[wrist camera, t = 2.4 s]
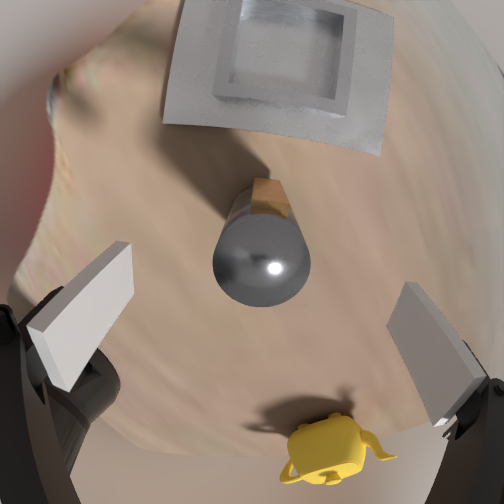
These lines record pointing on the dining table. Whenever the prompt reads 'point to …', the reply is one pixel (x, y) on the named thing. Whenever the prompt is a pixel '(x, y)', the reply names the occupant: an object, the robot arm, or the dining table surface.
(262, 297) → the grey rounded cylinder
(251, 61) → the collar
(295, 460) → the teapot
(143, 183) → the dining table surface
